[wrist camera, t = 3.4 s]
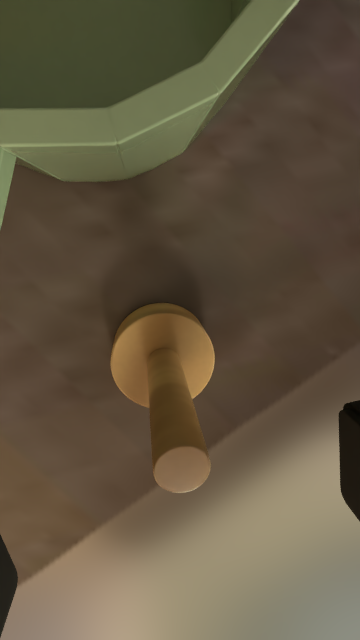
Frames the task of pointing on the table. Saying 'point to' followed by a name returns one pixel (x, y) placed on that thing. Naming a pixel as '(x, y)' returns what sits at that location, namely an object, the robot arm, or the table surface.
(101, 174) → the pot
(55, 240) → the table surface
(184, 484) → the disc with rod handle
